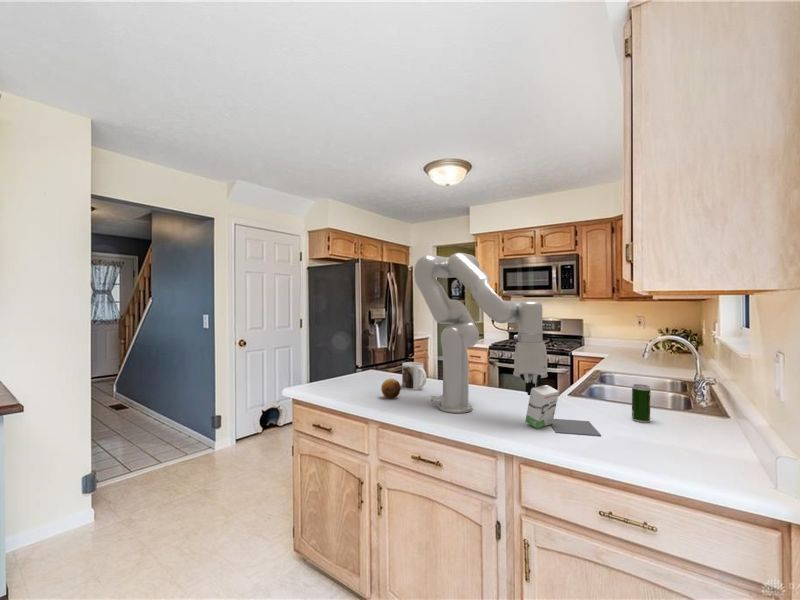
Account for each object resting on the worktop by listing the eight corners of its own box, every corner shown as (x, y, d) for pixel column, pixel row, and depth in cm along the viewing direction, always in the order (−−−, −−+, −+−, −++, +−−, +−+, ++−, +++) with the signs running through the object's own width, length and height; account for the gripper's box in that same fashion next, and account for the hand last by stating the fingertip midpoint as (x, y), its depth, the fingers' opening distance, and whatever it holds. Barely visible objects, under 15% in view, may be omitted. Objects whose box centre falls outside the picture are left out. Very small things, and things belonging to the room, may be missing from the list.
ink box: (536, 429, 123) (543, 394, 120) (524, 421, 127) (530, 388, 124) (553, 423, 127) (560, 390, 125) (540, 416, 131) (547, 384, 129)
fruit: (404, 398, 159) (404, 378, 159) (389, 401, 153) (390, 381, 153) (391, 394, 165) (391, 376, 165) (377, 398, 159) (377, 378, 159)
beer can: (635, 422, 130) (635, 387, 130) (629, 417, 136) (629, 383, 136) (653, 423, 129) (653, 387, 129) (646, 418, 134) (646, 384, 134)
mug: (423, 385, 184) (423, 362, 184) (426, 391, 172) (427, 366, 172) (401, 385, 183) (401, 362, 183) (403, 391, 171) (403, 366, 171)
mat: (555, 432, 119) (555, 431, 119) (548, 419, 133) (548, 418, 133) (601, 436, 117) (601, 435, 117) (588, 422, 130) (588, 421, 130)
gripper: (507, 339, 125) (507, 395, 125) (556, 340, 122) (556, 398, 122) (506, 337, 133) (506, 390, 133) (552, 338, 130) (552, 393, 130)
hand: (530, 394), depth 127 cm, fingers closed
